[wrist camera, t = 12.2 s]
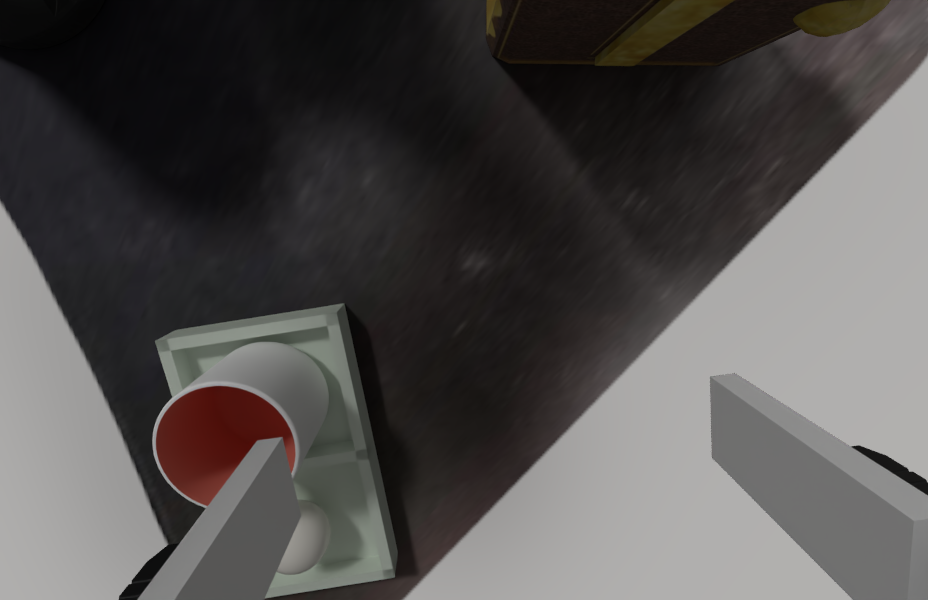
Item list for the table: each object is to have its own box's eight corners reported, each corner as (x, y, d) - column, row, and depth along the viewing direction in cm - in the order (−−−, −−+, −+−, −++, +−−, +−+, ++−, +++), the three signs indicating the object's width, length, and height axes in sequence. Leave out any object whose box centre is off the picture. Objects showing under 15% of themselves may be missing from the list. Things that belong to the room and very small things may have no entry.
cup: (324, 332, 42) (288, 376, 33) (338, 437, 45) (309, 507, 35) (208, 341, 42) (136, 387, 32) (228, 446, 44) (167, 519, 35)
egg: (266, 491, 45) (240, 536, 40) (330, 481, 46) (313, 524, 40) (281, 546, 47) (258, 596, 41) (343, 536, 47) (328, 585, 41)
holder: (176, 329, 43) (155, 341, 40) (344, 303, 43) (336, 312, 40) (249, 576, 49) (236, 602, 46) (398, 552, 49) (394, 577, 46)
